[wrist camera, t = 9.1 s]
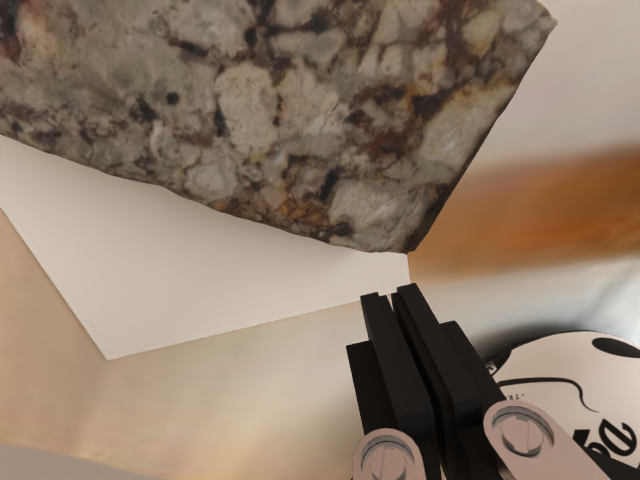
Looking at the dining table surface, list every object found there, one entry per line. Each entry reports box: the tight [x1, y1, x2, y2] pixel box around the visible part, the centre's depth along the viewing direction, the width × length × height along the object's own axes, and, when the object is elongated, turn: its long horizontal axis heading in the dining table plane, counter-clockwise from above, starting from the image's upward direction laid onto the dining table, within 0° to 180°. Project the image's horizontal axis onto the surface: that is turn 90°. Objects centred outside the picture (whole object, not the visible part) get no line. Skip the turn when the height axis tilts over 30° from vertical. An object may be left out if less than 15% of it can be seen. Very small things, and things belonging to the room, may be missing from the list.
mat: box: [0, 135, 411, 361], centre depth 20 cm, size 22×22×1 cm
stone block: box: [0, 0, 558, 255], centre depth 15 cm, size 13×7×20 cm
